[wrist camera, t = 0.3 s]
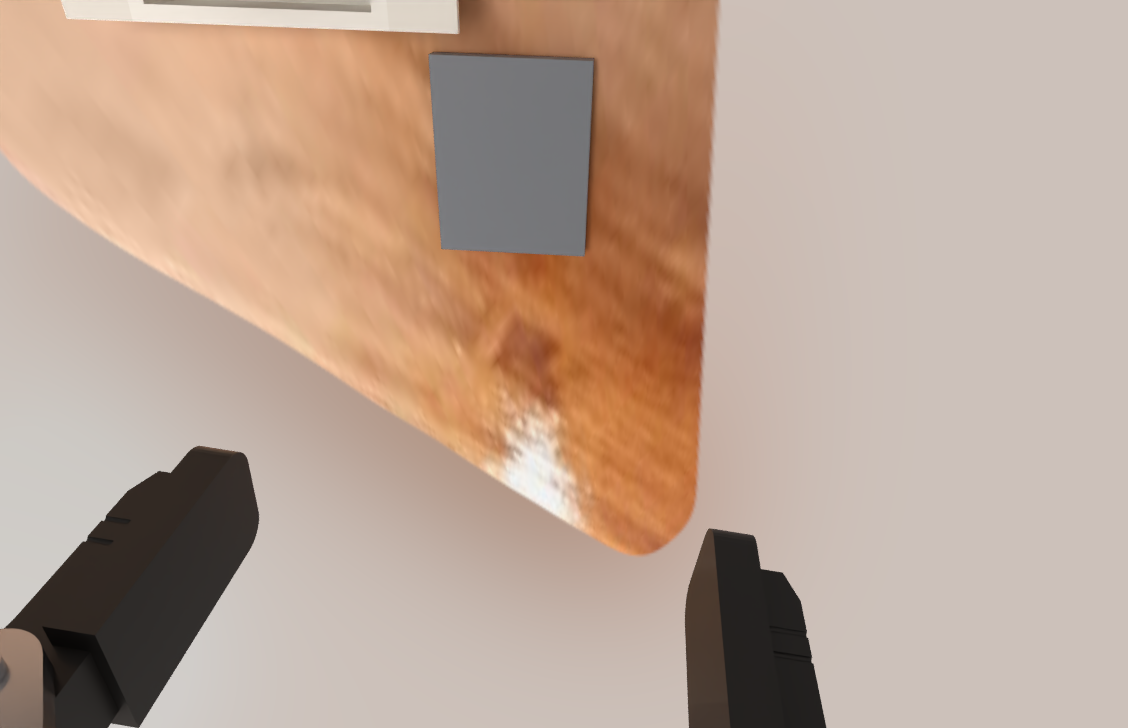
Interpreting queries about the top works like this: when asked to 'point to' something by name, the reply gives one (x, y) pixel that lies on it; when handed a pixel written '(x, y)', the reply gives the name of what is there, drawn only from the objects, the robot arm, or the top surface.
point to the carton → (280, 13)
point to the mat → (512, 151)
